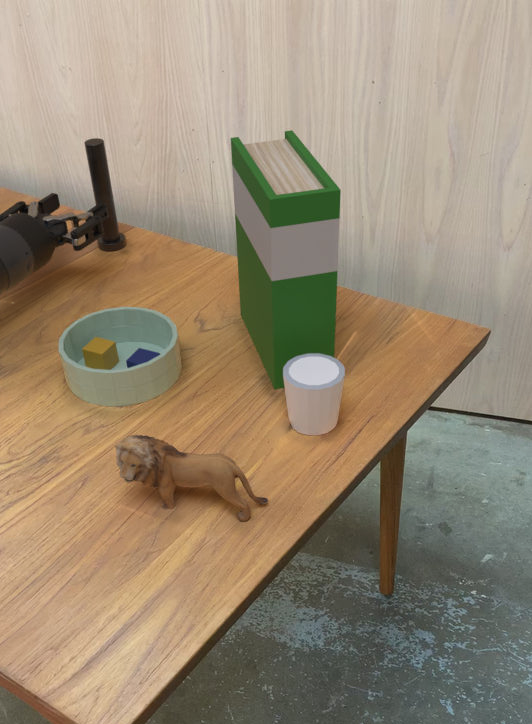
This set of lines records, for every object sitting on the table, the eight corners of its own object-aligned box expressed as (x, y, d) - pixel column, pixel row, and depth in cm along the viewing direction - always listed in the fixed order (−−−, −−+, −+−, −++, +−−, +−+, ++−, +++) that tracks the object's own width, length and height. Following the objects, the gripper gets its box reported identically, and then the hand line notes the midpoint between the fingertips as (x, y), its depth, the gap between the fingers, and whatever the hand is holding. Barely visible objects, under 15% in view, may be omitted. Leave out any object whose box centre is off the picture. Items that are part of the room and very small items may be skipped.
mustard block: (86, 369, 98) (81, 348, 96) (99, 356, 100) (95, 336, 97) (106, 374, 97) (102, 354, 95) (119, 361, 99) (115, 341, 96)
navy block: (129, 380, 95) (125, 360, 93) (142, 367, 97) (139, 347, 95) (150, 386, 94) (147, 366, 92) (163, 373, 96) (160, 352, 94)
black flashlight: (92, 248, 123) (72, 145, 112) (108, 236, 125) (90, 134, 114) (116, 253, 121) (98, 149, 110) (131, 241, 124) (115, 138, 113)
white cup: (277, 434, 88) (276, 384, 83) (290, 398, 93) (289, 349, 88) (337, 442, 87) (339, 392, 82) (347, 405, 92) (350, 355, 87)
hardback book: (240, 318, 106) (230, 137, 90) (293, 309, 108) (292, 130, 91) (274, 393, 94) (269, 199, 77) (333, 382, 95) (340, 189, 79)
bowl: (44, 393, 95) (33, 355, 91) (109, 334, 104) (102, 297, 101) (143, 422, 90) (137, 383, 87) (202, 357, 100) (198, 320, 96)
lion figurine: (122, 524, 79) (107, 458, 72) (129, 487, 82) (116, 421, 76) (268, 522, 78) (265, 455, 72) (268, 485, 82) (265, 419, 76)
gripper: (46, 235, 98) (117, 186, 108) (-42, 217, 103) (35, 171, 113) (59, 289, 103) (126, 236, 114) (-25, 269, 108) (46, 220, 118)
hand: (80, 204), depth 113 cm, fingers open, 8 cm apart
